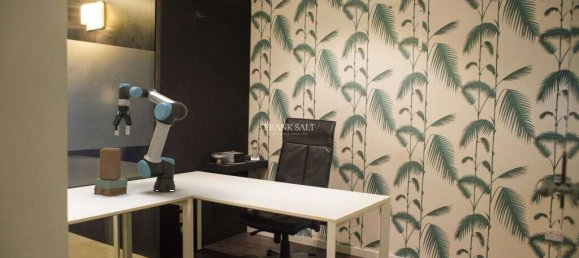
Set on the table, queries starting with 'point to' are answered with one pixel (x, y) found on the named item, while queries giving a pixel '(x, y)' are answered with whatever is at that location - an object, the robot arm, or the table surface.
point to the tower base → (110, 191)
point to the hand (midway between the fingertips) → (122, 134)
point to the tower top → (111, 183)
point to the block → (110, 163)
